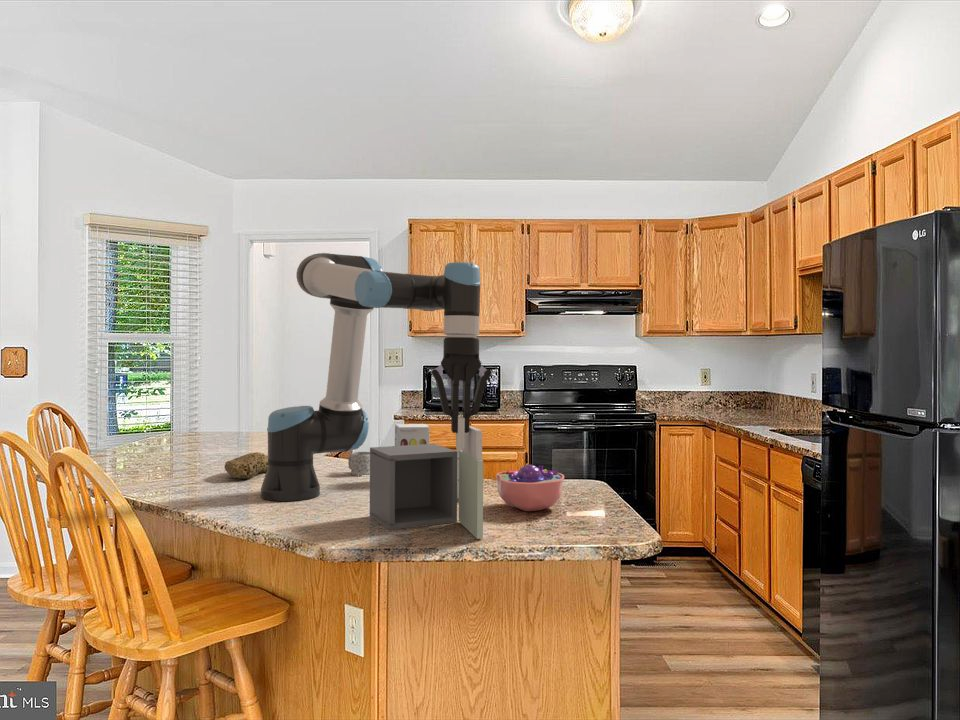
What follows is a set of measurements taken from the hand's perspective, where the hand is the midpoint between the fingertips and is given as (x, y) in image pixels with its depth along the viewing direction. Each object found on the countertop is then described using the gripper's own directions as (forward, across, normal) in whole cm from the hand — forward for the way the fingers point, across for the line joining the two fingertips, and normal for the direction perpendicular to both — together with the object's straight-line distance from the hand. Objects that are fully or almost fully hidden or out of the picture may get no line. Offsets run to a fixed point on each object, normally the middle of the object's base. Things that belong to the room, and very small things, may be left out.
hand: (460, 448), depth 148 cm
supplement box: (+19, +4, -60) cm, 63 cm away
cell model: (+18, -21, -20) cm, 34 cm away
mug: (+19, +19, -77) cm, 81 cm away
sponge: (+19, +52, -78) cm, 96 cm away
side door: (+18, -3, -2) cm, 18 cm away
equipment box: (+18, +8, -14) cm, 25 cm away
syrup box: (+18, -9, -36) cm, 41 cm away
